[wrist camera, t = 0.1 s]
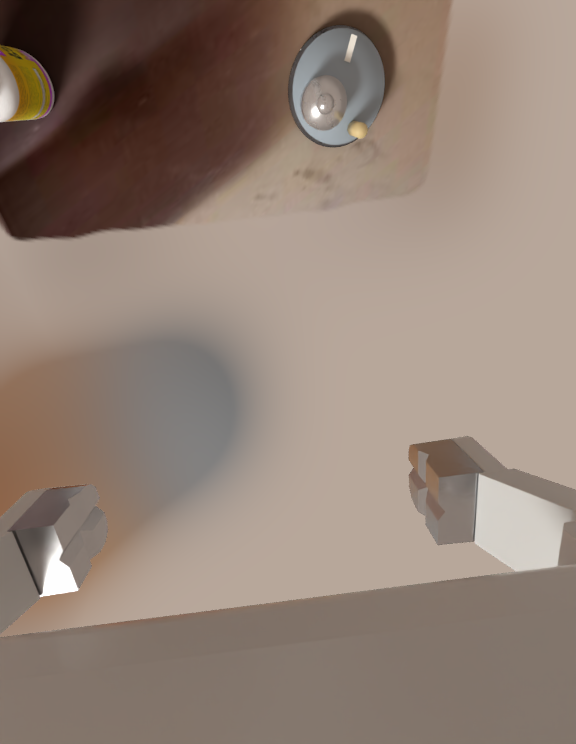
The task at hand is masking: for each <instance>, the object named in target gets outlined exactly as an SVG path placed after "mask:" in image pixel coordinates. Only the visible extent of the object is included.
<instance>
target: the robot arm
mask: <svg viewBox="0 0 576 744" xmlns="http://www.w3.org/2000/svg"><path fill="white" fill-rule="evenodd" d="M409 461H410V462H411V464H412V466H413V467H414V468H413V469H412V471H411V472H410V474H409V487H410V492H411V497H412V500H413V502H414V505H415V507H416V508H417V510H418V512H420V513H421V514H423V515H425V516H426V526H427V528H428V529H429V531H430V533H431V534H432V536H433V538H434V539H435V541H436V543H437V545H442V544H453V543H463V542H473V541H475V544H477V545H478V546H480V547H481V548H482V549H484V550H485V551H487V552H488V553H490V554H491V555H493V556H494V557H496V558H497V559H499V560H500V561H502V562H503V563H505V564H506V565H508V566H509V567H510V568H512V569H513V570H515V571H516V572H509V573H501V574H494V575H486V576H478V577H470V578H463V579H455V580H447V581H439V582H431V583H423V584H415V585H407V586H400V587H392V588H384V589H376V590H368V591H360V592H352V593H344V594H337V595H330V596H322V597H313V598H306V599H297V600H289V601H282V602H274V603H266V604H259V605H251V606H243V607H235V608H227V609H219V610H211V611H204V612H196V613H188V614H180V615H172V616H164V617H156V618H148V619H140V620H133V621H125V622H117V623H109V624H101V625H94V626H85V627H78V628H70V629H62V630H54V631H47V632H38V633H30V634H22V635H15V636H7V637H0V744H576V490H575V489H572V488H569V487H566V486H563V485H560V484H558V483H555V482H552V481H548V480H546V479H543V478H540V477H537V476H534V475H531V474H528V473H525V472H522V471H519V470H516V469H507V468H505V466H503V465H502V464H501V463H500V462H499V461H498V460H497V459H496V458H494V457H493V456H492V455H491V454H490V453H489V452H488V451H487V450H485V449H484V448H483V447H482V446H481V445H480V444H479V443H478V442H477V441H475V440H474V439H473V438H472V437H469V436H465V437H459V438H453V439H446V440H440V441H433V442H426V443H419V444H413V445H410V447H409ZM99 499H100V497H99V494H98V492H97V489H96V487H95V486H93V485H91V484H85V485H75V486H65V487H56V488H45V489H38V490H32V491H29V492H26V493H25V494H24V495H23V496H22V497H21V498H20V499H19V500H18V501H17V502H16V503H15V504H14V505H13V506H12V507H11V508H10V509H9V510H7V512H5V513H4V515H2V517H0V634H1V633H2V632H3V631H4V630H6V629H7V628H8V627H9V626H10V625H11V624H12V623H13V622H15V620H17V619H18V618H19V617H20V616H21V615H22V614H23V613H25V611H27V610H28V609H29V608H30V607H31V606H32V605H33V604H35V603H36V602H37V601H38V600H39V599H40V596H45V595H52V594H58V593H65V592H70V591H77V590H79V588H80V586H81V584H82V583H83V581H84V579H85V577H86V576H87V574H88V572H89V571H90V569H91V567H92V565H91V562H90V559H91V558H93V557H94V556H95V555H97V554H98V553H99V552H100V551H101V549H102V548H103V546H104V544H105V542H106V537H107V532H108V526H107V519H106V516H105V513H104V512H103V511H102V510H101V509H99V508H98V507H97V506H96V505H97V503H98V501H99Z"/></svg>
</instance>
